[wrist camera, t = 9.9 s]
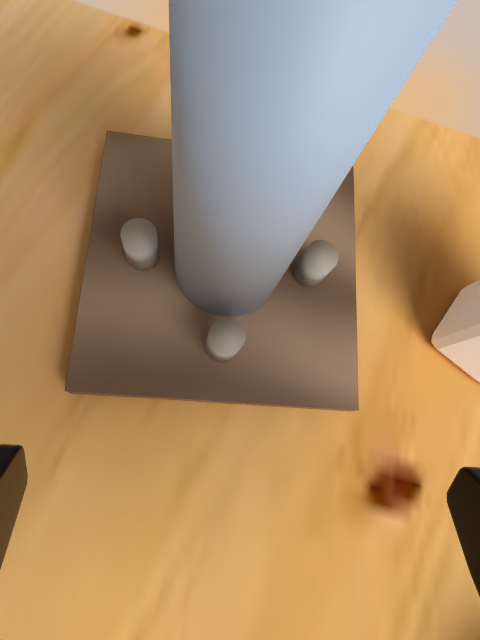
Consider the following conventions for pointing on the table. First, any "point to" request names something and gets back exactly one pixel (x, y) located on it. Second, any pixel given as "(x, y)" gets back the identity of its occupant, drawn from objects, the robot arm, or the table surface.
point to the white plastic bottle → (462, 331)
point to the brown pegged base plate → (197, 325)
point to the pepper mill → (274, 126)
